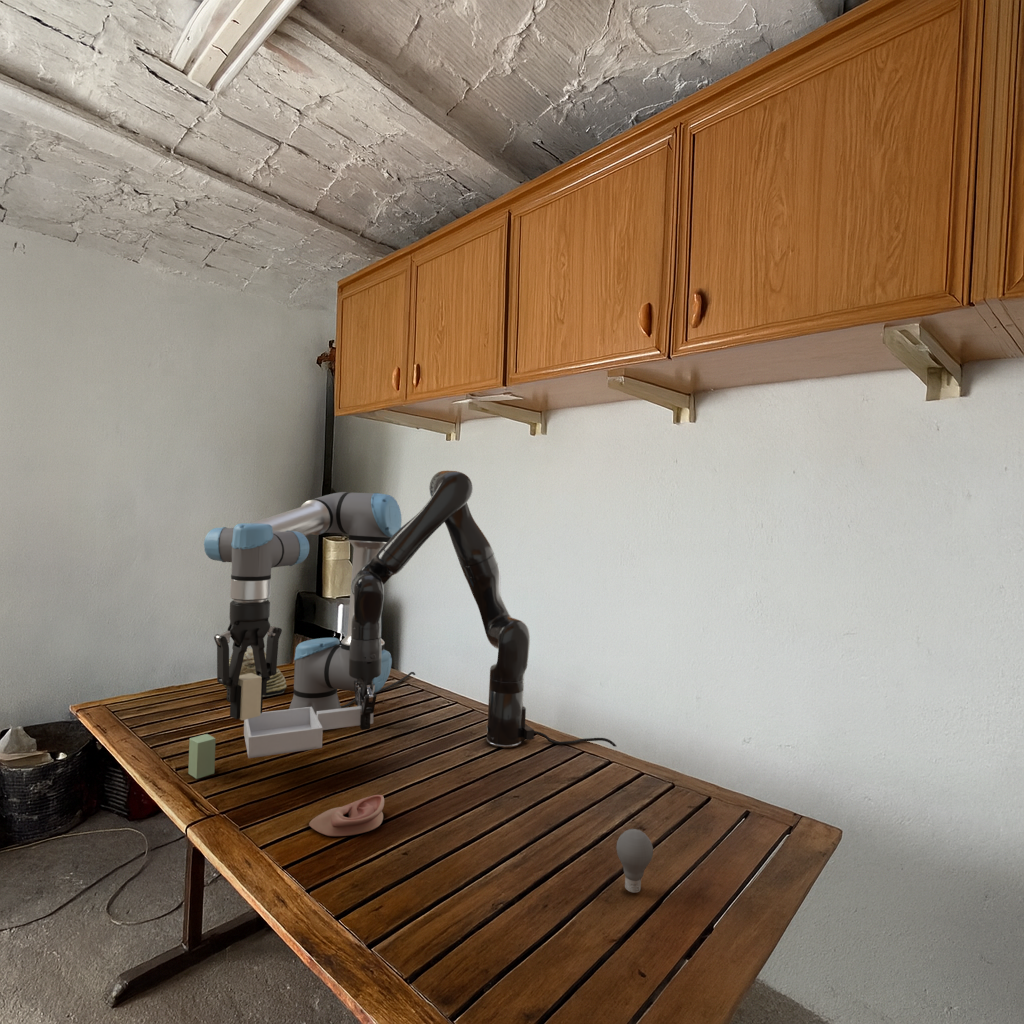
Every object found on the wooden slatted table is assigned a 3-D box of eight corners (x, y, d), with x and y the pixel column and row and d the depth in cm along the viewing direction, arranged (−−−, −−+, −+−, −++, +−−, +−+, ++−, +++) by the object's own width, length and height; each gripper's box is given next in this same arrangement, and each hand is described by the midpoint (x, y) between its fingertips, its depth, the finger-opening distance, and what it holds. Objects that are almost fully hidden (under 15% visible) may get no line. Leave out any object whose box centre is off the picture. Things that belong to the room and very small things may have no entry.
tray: (248, 758, 134) (248, 732, 134) (243, 733, 148) (244, 710, 147) (380, 739, 146) (380, 716, 146) (364, 718, 160) (365, 696, 160)
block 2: (250, 711, 131) (251, 672, 131) (260, 715, 129) (261, 676, 129) (231, 715, 128) (232, 676, 128) (241, 720, 126) (243, 680, 126)
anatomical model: (301, 810, 119) (330, 784, 130) (300, 831, 119) (330, 803, 131) (367, 821, 117) (391, 793, 128) (366, 842, 117) (390, 813, 128)
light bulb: (610, 879, 108) (613, 822, 108) (644, 879, 109) (647, 822, 109) (619, 902, 102) (622, 840, 102) (655, 901, 103) (658, 840, 103)
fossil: (218, 695, 195) (220, 647, 195) (278, 685, 208) (279, 640, 207) (228, 703, 189) (230, 653, 188) (289, 692, 201) (290, 645, 201)
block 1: (206, 768, 145) (207, 733, 145) (214, 773, 142) (215, 738, 142) (188, 773, 142) (189, 738, 142) (196, 779, 139) (197, 743, 139)
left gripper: (278, 593, 137) (274, 700, 138) (199, 601, 124) (194, 720, 124) (298, 598, 132) (294, 709, 133) (217, 606, 119) (213, 730, 120)
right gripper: (343, 650, 156) (342, 719, 157) (356, 664, 144) (354, 739, 144) (374, 648, 160) (372, 716, 160) (388, 661, 147) (386, 735, 148)
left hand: (246, 714), depth 129 cm, fingers closed on block 2, 4 cm apart
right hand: (363, 727), depth 152 cm, fingers closed on tray
